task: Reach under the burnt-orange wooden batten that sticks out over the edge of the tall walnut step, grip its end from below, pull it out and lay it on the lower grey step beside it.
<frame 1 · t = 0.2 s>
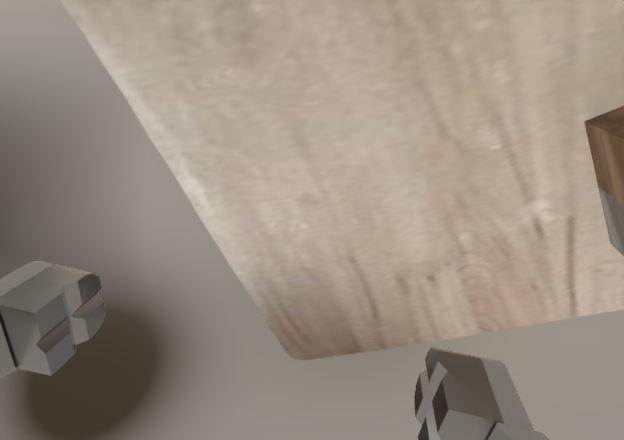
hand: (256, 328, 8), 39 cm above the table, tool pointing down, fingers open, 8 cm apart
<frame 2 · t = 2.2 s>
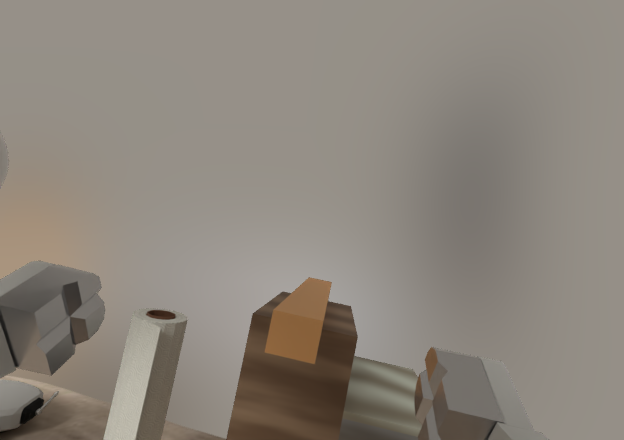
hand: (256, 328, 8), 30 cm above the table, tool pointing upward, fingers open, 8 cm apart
batten: (308, 317, 33), point 26 cm above the table, touching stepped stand
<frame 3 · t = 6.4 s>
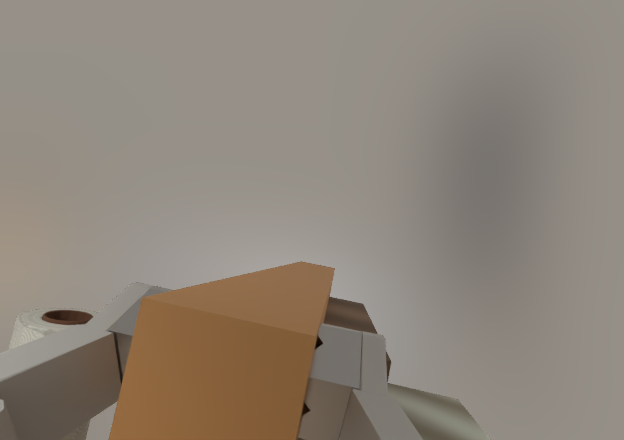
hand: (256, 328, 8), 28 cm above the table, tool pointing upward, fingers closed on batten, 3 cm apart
batten: (294, 320, 18), point 26 cm above the table, touching gripper, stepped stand
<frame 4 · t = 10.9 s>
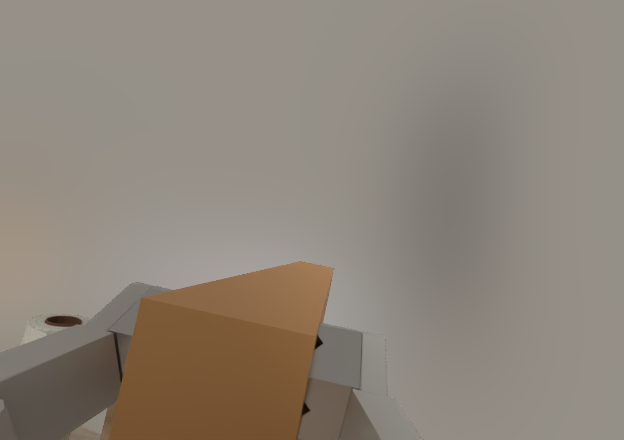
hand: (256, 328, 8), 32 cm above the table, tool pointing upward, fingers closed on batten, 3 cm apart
batten: (293, 320, 18), point 30 cm above the table, touching gripper
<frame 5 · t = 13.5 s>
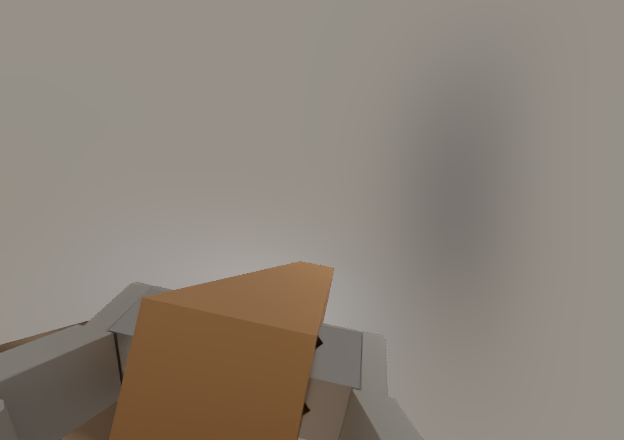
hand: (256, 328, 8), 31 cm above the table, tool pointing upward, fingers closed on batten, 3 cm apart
batten: (293, 320, 18), point 30 cm above the table, touching gripper
when the fingers open (23 cm above the table, at t = 15.5 s): batten drops 2 cm, resting on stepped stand.
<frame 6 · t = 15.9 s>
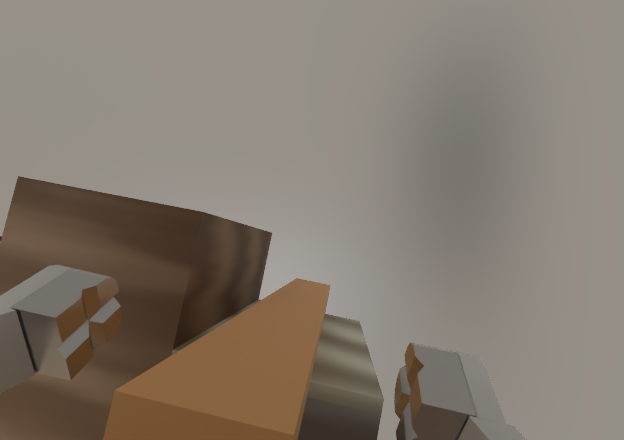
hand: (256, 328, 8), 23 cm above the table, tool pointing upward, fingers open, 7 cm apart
batten: (286, 350, 18), point 20 cm above the table, touching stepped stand
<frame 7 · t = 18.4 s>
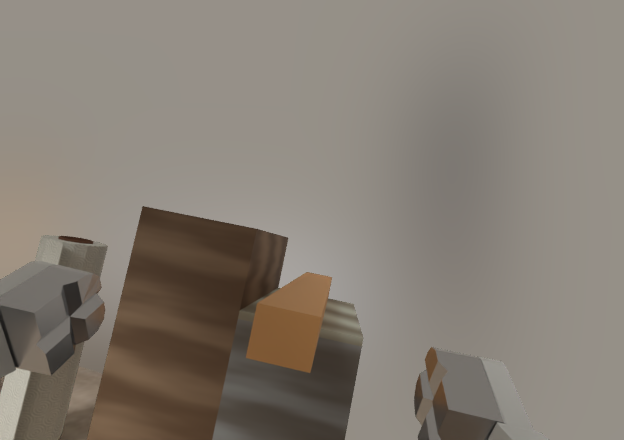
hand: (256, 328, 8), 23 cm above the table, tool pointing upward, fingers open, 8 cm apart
batten: (304, 315, 28), point 20 cm above the table, touching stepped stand
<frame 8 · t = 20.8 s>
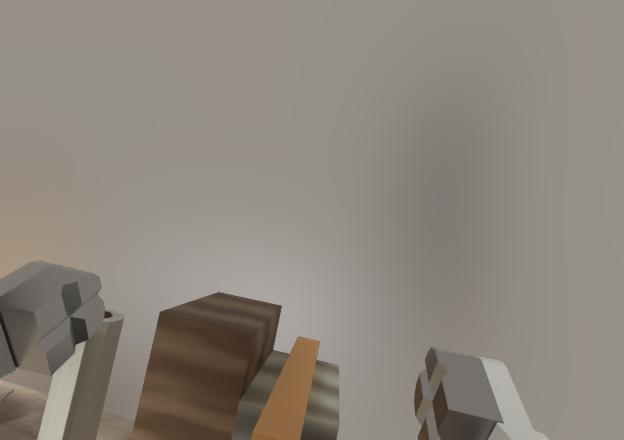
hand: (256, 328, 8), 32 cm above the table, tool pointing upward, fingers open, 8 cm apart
batten: (293, 396, 34), point 20 cm above the table, touching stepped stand
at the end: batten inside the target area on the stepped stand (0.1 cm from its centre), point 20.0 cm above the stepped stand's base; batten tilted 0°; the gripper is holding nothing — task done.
